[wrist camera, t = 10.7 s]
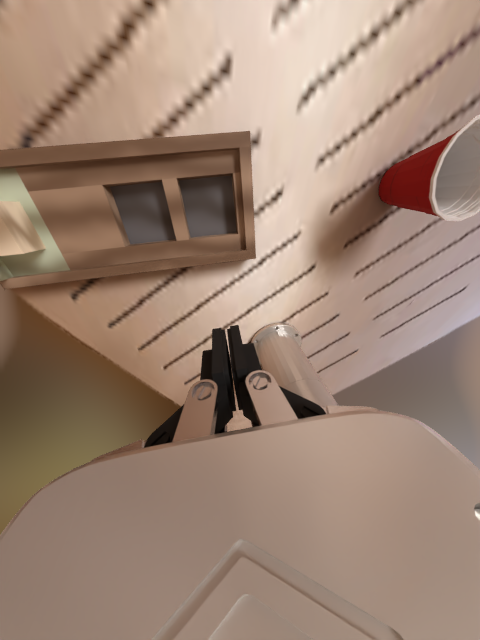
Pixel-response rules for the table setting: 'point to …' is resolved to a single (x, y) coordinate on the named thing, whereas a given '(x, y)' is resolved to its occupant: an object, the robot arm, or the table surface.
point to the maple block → (17, 230)
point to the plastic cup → (439, 177)
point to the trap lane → (130, 206)
